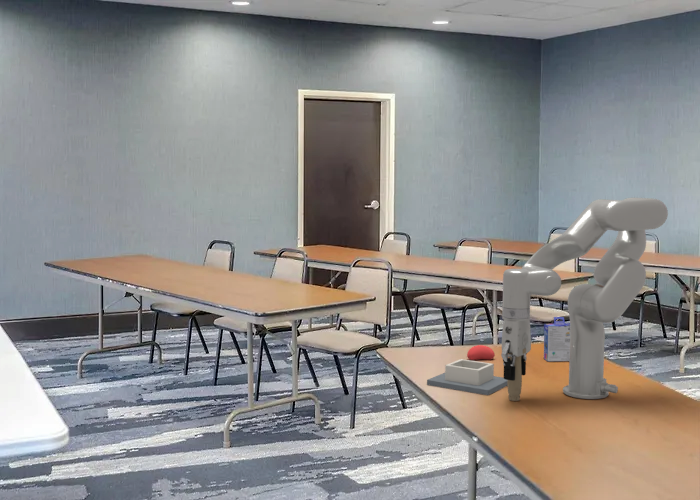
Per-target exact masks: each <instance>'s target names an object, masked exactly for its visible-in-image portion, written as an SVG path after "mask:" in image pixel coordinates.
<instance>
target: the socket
mask: <svg viewBox="0 0 700 500" xmlns="http://www.w3.org/2000/svg"><path fill="white" fill-rule="evenodd" d="M494 366H495V364H494V363H491V362H490V363H489V362H482V361H478V360H470V359H465V358H464V359H462V358H460V359H457V360H454V361H453V362H450V363H447V364H445V365H444V367H445V368H444V372H443V373H440V374H439V375H435V376H433V377H430V378H428V379H426V385H427V386H431V387H437V388H443V389H449V390H453V391H454V390H455V391H459V392H461V391H462V392H465V393H466V392H467V393H470V394H471V393H472V394H476V395H477V394H478V395H483V396H490V395H491V394H494V393H495V392H498V391H500V390H502V389H504V388H506V387H508V386H507V382H508V381H507V380H505V379H504V376H503V377H501V376H497V375H495V374H494V372H495V371H494V368H495V367H494Z"/></svg>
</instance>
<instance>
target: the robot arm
mask: <svg viewBox="0 0 700 500" xmlns="http://www.w3.org/2000/svg"><path fill="white" fill-rule="evenodd" d="M668 215H669V212H668V208H667V206H666V204H665V203H664V202H663V201H661V200H660V199H658V198H649V197H628V198H624V199H622V200H620V199H601V198H600V199H599V198H598V199H595V200H593V201H591V202H590V203H589V204H588V205H587V206H586V207H585V209H583V210H582V212H581V213H580V214H579V215H578V217H576V219H575V220H574V221H573V222H571V224H570V226H568V228H567V229H565V231H564V232H563V233H562V234H561V235H559V236H558V237H556V238H554V239H553V240H551V241H550V242H548V243H547V244H545V245H543V246H542V247H541V248H539V249H538V250H537V251H535V252H534V253H533V254H532V256H531V257H530V258H529V259H528V260H527V261H526V262H524V265H522V267H521V268H508V269H505V270H504V272H503V274H502V275H503V276H502V309H501V310H502V311H501V314H502V315H501V317H502V318H501V319H502V320H503V324H502V329H501V330H502V333H501V355H500V356H501V359H502V363H503V364H502V365H503V378H504V379H505V380H512V381H514V380H515V366H514V363H515V358H516V357H519V356H521V355H522V356H521V371H522V376H526V374H527V372H526V371H527V370H526V369H527V363H526V362H527V354H528V353H529V352H531V348H532V335H531V333H532V332H531V322H530V321H531V295H535V296H542V297H549V296H553V295H554V294H557V292H559V291H560V289H561V286H562V279H561V276H560V275H559V273H558V272H556V271H555V270H554V269H555V268H556V267H558V266H559V265H561V264H563V263H566V262H567V261H571V260H572V261H573V260H575V259H577V258H578V259H579V258H581V257H583V256H585V255H586V254H588V252H589V251H590V250H591V249H592V248H593V246H595V244H596V243H597V242H598V241H599V240H600V239H601V238H602V237H603V236H604V234H605V233H606V232H607V231H615V232H617V236H616V238H615V239H614V241H613V242H612V244H611V246H609V248H608V249H607V251H606V252H605V253H604V255H603V256H602V258H600V260H599V261H598V263H597V264H596V265H595V267H594V269H593V278H594V281H595V282H596V283H597V284H598V285H596V284H590V283H581V284H578V285H576V286H574V287H573V288H572V289H571V290H570V292H569V294H568V297H567V309H568V315H569V323H570V358H569V361H568V362H569V363H568V364H569V365H568V366H569V369H568V384H567V385H565V386H564V387H563V388H562V393H563V394H565V395H566V396H569V397H570V398H571V397H573V398H575V399H586V400H597V399H598V400H600V399H605V398H607V397H608V396H609V393H613V394H617V393H618V391H619V390H618V389H619V387H618V386H617V385H616V384H611V383H608V382H607V378H604V366H605V363H604V362H605V342H606V341H605V340H606V334H605V333H606V331H605V325H604V324H610V323H613V322H614V323H615V321H617V320H618V319H619V318H620V317H621V316H622V315H624V313H625V312H626V310H627V309H628V307H629V306H630V305H631V304H632V302H633V301H634V300H635V299H636V297H638V295H639V294H640V292H641V291H642V289H643V287H644V285H645V282H646V278H647V271H646V267H645V266H644V265H643V263H642V262H641V261H640V259H641V258H642V256H643V255H644V252H645V251H646V248H647V247H646V246H647V236H646V230H655V229H659V228H660V227H662V226H663V225H664V224H665V223H666V221H667V219H668ZM525 348H526V353H525V354H523V349H525ZM508 353H513V355H512V354H508ZM509 357H512V360H511V359H510V358H509Z"/></svg>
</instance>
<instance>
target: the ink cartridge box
mask: <svg viewBox="0 0 700 500" xmlns="http://www.w3.org/2000/svg"><path fill="white" fill-rule="evenodd" d="M543 324H544V325H543V359H544V360H545V361H546V362H569V358H570V322H569V323H567V322H566V321H565V317H564V316H554V317H553V323H543Z"/></svg>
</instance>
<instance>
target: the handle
mask: <svg viewBox="0 0 700 500" xmlns="http://www.w3.org/2000/svg"><path fill="white" fill-rule="evenodd" d="M525 353H526V348H525V349H523V354H525ZM508 354H512V355H513V353H508ZM521 356H522V355H521ZM521 356H519V357H516V358H515V363H514V366H515V380H514V381H512V380H507V381H508V382H507V386H506V387H507V393H508V400H509V401H512V402H518V401H519V402H520V399H521V394H522V385H523V383H522V382H523V375H522V371H521ZM509 358H510V359H511V360H512V357H509Z"/></svg>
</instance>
